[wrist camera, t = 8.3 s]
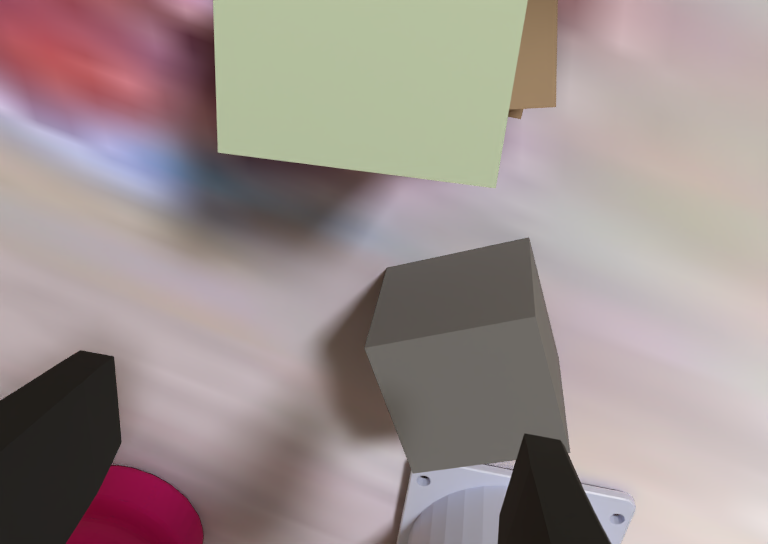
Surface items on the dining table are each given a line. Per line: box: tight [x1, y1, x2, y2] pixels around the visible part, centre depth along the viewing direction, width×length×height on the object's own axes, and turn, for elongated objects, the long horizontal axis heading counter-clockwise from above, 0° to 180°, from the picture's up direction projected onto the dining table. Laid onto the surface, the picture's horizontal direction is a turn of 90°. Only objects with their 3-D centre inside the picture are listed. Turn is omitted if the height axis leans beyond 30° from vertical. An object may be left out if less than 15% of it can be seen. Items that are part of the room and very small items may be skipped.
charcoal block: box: [365, 238, 570, 474], centre depth 21 cm, size 4×4×4 cm
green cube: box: [213, 0, 528, 188], centre depth 12 cm, size 4×4×4 cm
